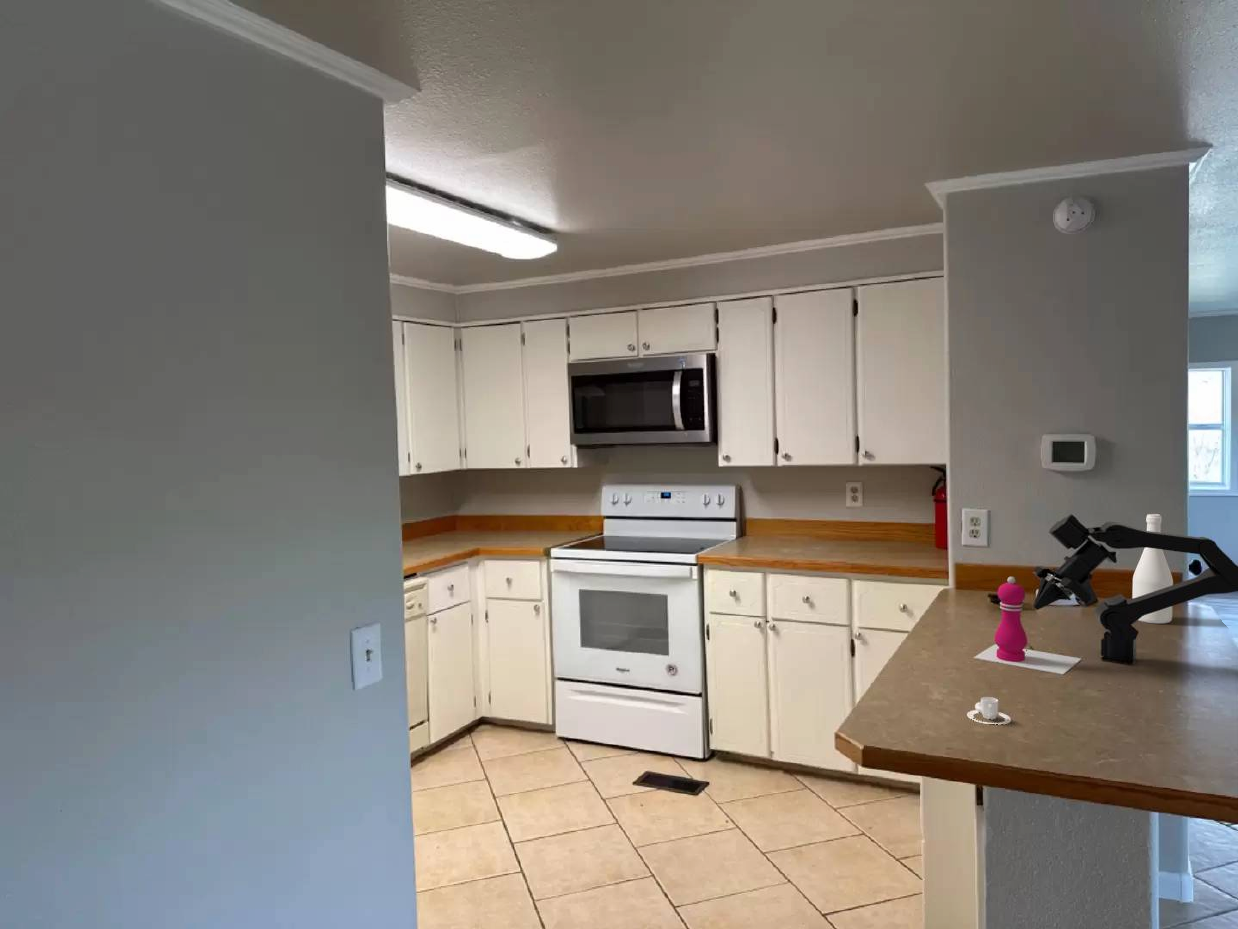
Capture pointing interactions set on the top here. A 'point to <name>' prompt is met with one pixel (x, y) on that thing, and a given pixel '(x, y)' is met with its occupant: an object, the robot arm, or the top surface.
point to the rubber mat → (1034, 660)
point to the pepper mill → (1011, 623)
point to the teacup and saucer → (988, 710)
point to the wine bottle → (1153, 574)
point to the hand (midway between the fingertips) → (1035, 608)
